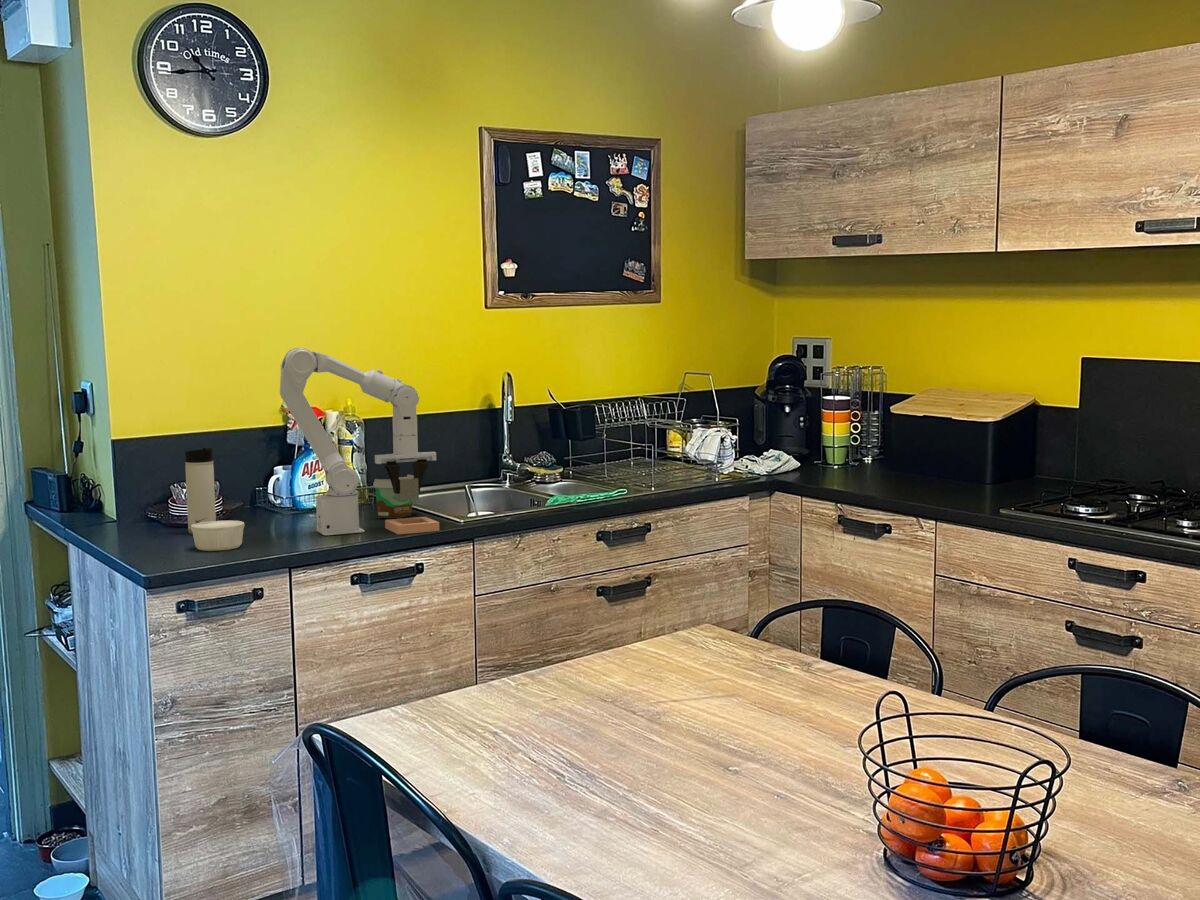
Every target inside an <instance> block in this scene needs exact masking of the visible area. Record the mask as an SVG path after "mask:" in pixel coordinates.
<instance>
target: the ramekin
mask: <svg viewBox="0 0 1200 900" xmlns="http://www.w3.org/2000/svg"><path fill="white" fill-rule="evenodd" d="M244 528H245V522H244V521H241V520H216V521H211V522H202V523H196V524H193V525H191V530H192V532H193V534H192V536H193V540H194V545H195V546H194V547H195V548H196V549H197V550H198V551H206V552H207V551H208V552H215V551H217V552H218V551H229V550H230V551H231V550H235V549H238V548H240V546H241V545H242V544H243V538H244V537H243V535H244Z"/></svg>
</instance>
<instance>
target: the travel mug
mask: <svg viewBox="0 0 1200 900" xmlns="http://www.w3.org/2000/svg"><path fill="white" fill-rule="evenodd" d="M213 454H214V453H213V448H212V447H203V448H202V449H195V450H193V449H192V450H187V451H184V457H185V460H184V461H185V467H184V468H185V484H186V485H185V486H186V487H185V488H186V489H185V490H186V511H187V529H188V530H187V531H188V533H189V534H192V535H193V532H192V530H191V525H193V524H196V523H202V522H211V521H217V520H216V519H217V516H216V494H215V493H216V492H215V470H214V469H215V468H214V458H213V457H214V455H213Z"/></svg>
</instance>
